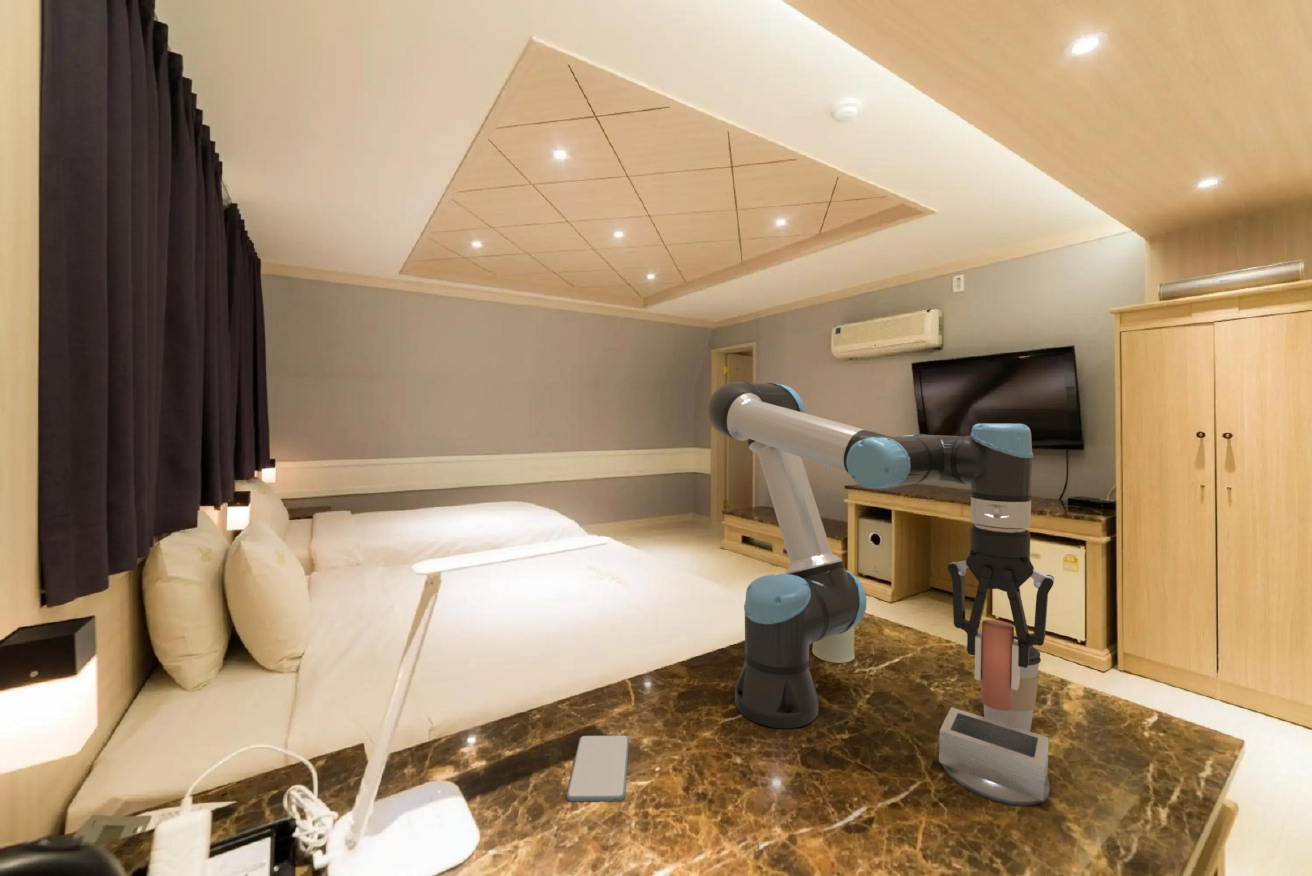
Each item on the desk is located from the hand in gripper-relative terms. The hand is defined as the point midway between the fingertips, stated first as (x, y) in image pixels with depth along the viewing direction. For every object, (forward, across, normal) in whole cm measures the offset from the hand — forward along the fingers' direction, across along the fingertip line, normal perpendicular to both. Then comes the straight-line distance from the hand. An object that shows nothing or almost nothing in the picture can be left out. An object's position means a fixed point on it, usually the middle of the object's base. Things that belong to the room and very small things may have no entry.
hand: (996, 681), depth 80 cm
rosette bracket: (+14, 0, 0) cm, 14 cm away
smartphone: (+15, -47, -37) cm, 62 cm away
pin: (+3, 0, 0) cm, 3 cm away
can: (+14, -34, +24) cm, 44 cm away
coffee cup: (+14, 0, +17) cm, 22 cm away
